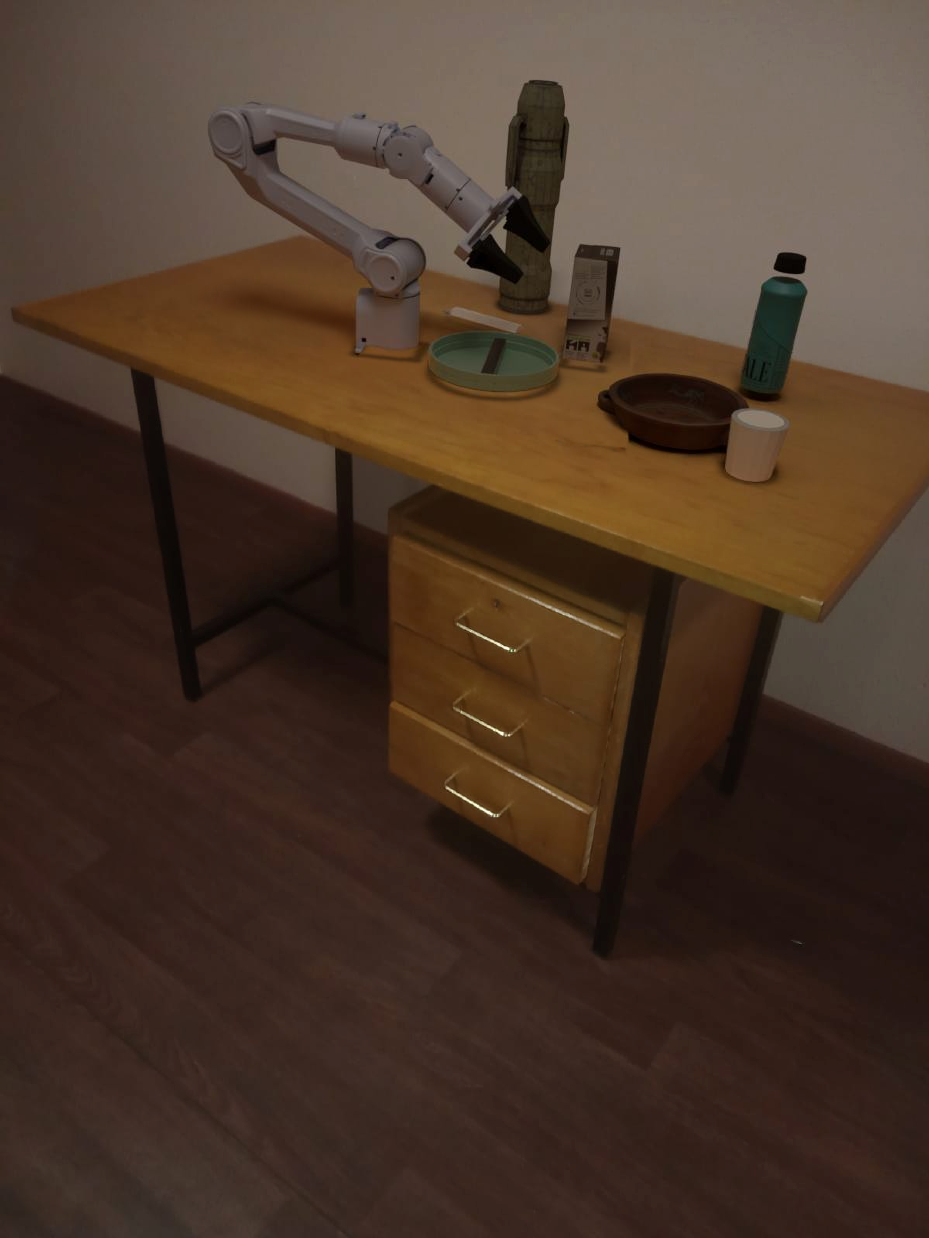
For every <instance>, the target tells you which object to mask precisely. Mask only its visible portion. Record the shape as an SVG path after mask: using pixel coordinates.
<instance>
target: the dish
mask: <svg viewBox="0 0 929 1238" xmlns="http://www.w3.org/2000/svg"><path fill="white" fill-rule="evenodd" d="M597 405H598V407H599V408H600V409H602V410H603V411H606V412H608V413H610V414H612V415H614V416H615V417H616V420H617V423H618V424H619V426H621V428H623V429H624V430H625V431H627V432H628V434H630V435H631V436H633V437H634V438H637V439H639V440H642V441H643V442H647V443H651V444H653V445H657V446H661V447H666V448H670V449H671V448H672V449H677V450H691V451H697V450H709V449H714V448H718V447H720V446H725V447H728V440H729V432H730V425H731V417H732V414H733V413H734V412H735V411H737V410H740V409H748V408H750V406H749V403H748V402H747V400H746V399H744V398H743V396H742V395H741V394H740V393H738V392H737V391H734V390H732V389H731V388H729V387H727V386H726V385H722V384H720V383H717V382H716V381H712V380H709V379H706V378H703V377H699V376H694V375H686V374H680V373H678V374H677V373H667V372H651V373H650V372H649V373H640V374H636V375H630V376H627V377H624V378H621V379H619V380H616V381H615V382H614V383H612V384H611V385H609V388H608V389H604V390H601V391H600V392H599V393H598V394H597Z"/></svg>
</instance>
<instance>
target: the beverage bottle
mask: <svg viewBox="0 0 929 1238" xmlns="http://www.w3.org/2000/svg"><path fill="white" fill-rule="evenodd" d="M806 266H807V256H805V255H803V254H801V253H798V252H790V251H783V252H782V251H781V252H779V253H777V255H776V258H775V261H774V264H773V268H772V269H773V271H776V272H778V273H782V274H786V275H803V274H805V272H806ZM808 293H809V292H808V289H807V287H806V285H805V284H804V282H803V281H801V280H800V279H798V278H795V277H791V276H785V275H784V276H782V275H779V276H778V275H775V276H772V277H769V278H768V279H767V280H766V281H764V282H763V283H762V284H761V286H760V293H759V298H758V301H757V303H756V308H755V310H754V312H755V313H754V314H753V319H752V322H751V327H752V328H751V330H750V332H749V333H750V336H749V338H748V341H747V350H746V352H745V354H744V358H743V359H744V360H742V361H743V362H742V366H741V372H740V385H741V386H742V387H743V388H744V389H746V390H749V391H752V392H755V393H759V394H760V393H761V394H777V393H780V392H782V390H783V388H784V386H785V384H786V381H787V378H788V374H789V369H790V364H791V359H792V356H793V353H794V352H793V351H794V347H795V340H796V336H797V333H798V329H799V324H800V321H801V317H802V315H803V314H802V313H803V309H804V305H805V302H806V298H807V295H808Z"/></svg>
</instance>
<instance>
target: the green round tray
mask: <svg viewBox="0 0 929 1238" xmlns="http://www.w3.org/2000/svg"><path fill="white" fill-rule="evenodd" d="M494 338H502V339H506V348H505V352H504V355H503V358H502V361H501V363H500V366H499V369H498V372H497V375H494V374H485V373H481V371H482V368H483V366H484V363H485V361H486V358H487V356H488V353H489V351H490V348H491V346H492V343H493V341H494ZM427 354H428V355H427V364H428V369H429V370H430V372H432V374H433V375H434V376H435V377H437V378H439V379H441V380H443V381H445V382H447V383H449V384H452V385H455V386H458V387H462V388H467V389H472V390H478V391H487V392H501V393H502V392H506V393H513V392H523V391H528V390H535V389H538V388H542V387H544V386H546V385H548V384H551V383H552V382H553V381H554V380H556V378H557V376H558V371H559V363H560V355H559V352H558V351H557V349H555V348H554V347H552V346H551V345H550V344H548V343H547V342H543V341H542V340H540V339H537V338H533V337H530V336H527V335H523V334H517V333H513V332H507V331H506V332H505V331H496V330H473V331H472V330H470V331H461V332H455V333H450V334H446V335H443V336H441V337H438V338H436V339H435V340H433V341H432V342H431V343H430V344H429V347H428V352H427Z"/></svg>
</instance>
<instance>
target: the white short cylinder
mask: <svg viewBox="0 0 929 1238" xmlns="http://www.w3.org/2000/svg"><path fill="white" fill-rule="evenodd" d="M790 426H791V423H790V421H789V419H788V418H786V417H785V416H784V415H782V414H780V413H777V412H775V411H772V410H768V409H762V408H752V407H751V408H750V407H749V408H748V409H740V410H737V411H735V412H734V413H733V414H732V417H731V425H730V432H729V440H728V446H727V448H726V457H725V463H724V464H725V465H724V469H725V473H727V474H728V475H729V476H731V477H732V478H735V479H737V480H741V481H745V482H751V483H758V482H760V483H761V482H766V481H768V480H770V478H771V477H772V475H773V473H774V470H775V467H776V464H777V461H778V458H779V456H780V453H781V451H782V448H783V445H784V442H785V440H786V437H787V434H788V432H789V429H790Z"/></svg>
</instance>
